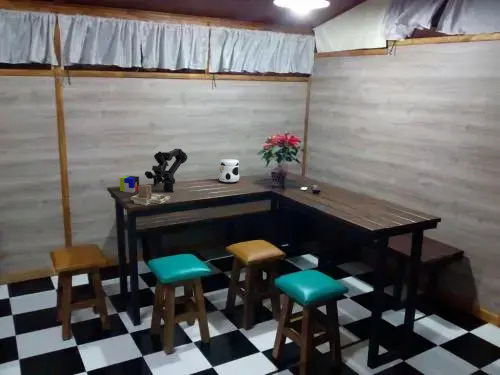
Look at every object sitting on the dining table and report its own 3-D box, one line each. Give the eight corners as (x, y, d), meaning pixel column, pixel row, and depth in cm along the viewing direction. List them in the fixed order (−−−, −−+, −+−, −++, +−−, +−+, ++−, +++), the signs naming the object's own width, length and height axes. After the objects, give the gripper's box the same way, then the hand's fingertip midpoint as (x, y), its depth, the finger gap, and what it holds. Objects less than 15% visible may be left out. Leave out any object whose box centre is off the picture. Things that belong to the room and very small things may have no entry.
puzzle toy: (133, 192, 312) (132, 179, 310) (120, 191, 314) (119, 178, 311) (139, 189, 321) (139, 176, 319) (126, 188, 323) (126, 175, 321)
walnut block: (143, 197, 291) (143, 184, 289) (151, 198, 290) (151, 185, 288) (138, 199, 286) (138, 186, 284) (146, 200, 284) (146, 187, 282)
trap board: (143, 194, 307) (143, 189, 307) (172, 197, 301) (172, 192, 300) (125, 202, 285) (125, 196, 285) (155, 206, 279) (155, 200, 278)
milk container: (214, 181, 360) (214, 159, 356) (230, 178, 372) (230, 158, 368) (227, 185, 348) (228, 162, 344) (243, 182, 359) (244, 161, 356)
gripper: (145, 159, 302) (137, 178, 294) (170, 162, 296) (162, 181, 289) (151, 168, 311) (143, 187, 303) (175, 171, 306) (168, 190, 298)
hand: (154, 186), depth 298 cm, fingers closed
